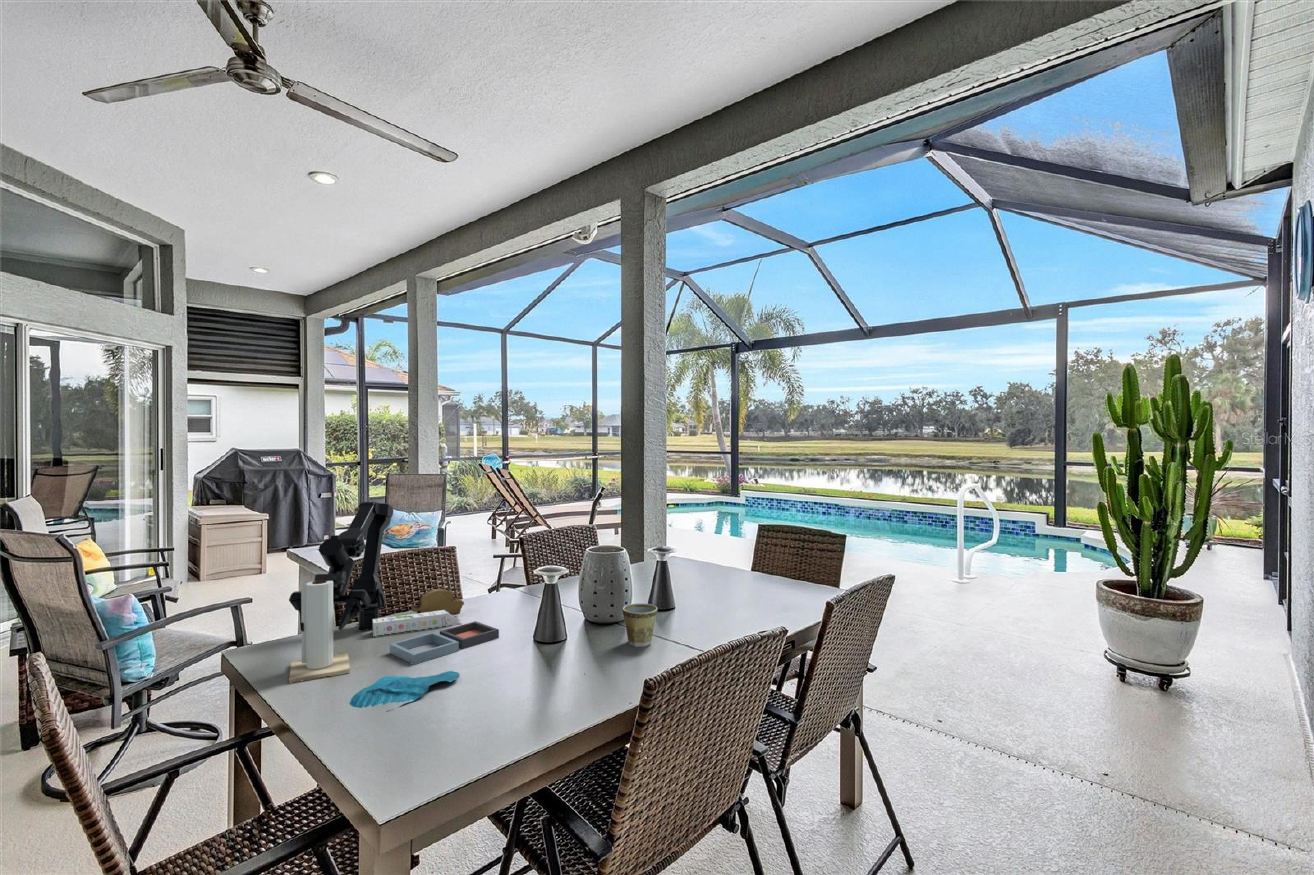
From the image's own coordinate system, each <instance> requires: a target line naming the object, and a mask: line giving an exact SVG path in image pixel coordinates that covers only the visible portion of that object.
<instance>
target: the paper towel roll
mask: <svg viewBox="0 0 1314 875" xmlns="http://www.w3.org/2000/svg"><path fill="white" fill-rule="evenodd" d="M300 585H301V587H300V588H301V589H300V591H301V623H303V622H304V631H301V630H300V631H301V660H302V664H304V663H306V666H307V668H308V669H320V668H325V667H328V666H330V665H332V664H333V655H334V603H333V581H326V580H319V581H314V580H309V581H301V584H300Z"/></svg>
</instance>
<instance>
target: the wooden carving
mask: <svg viewBox="0 0 1314 875" xmlns="http://www.w3.org/2000/svg"><path fill="white" fill-rule="evenodd" d="M418 600H419V603H418V604H417V605H416V604H415V605H411V606H410V609H411V611H412V612H414V613H415V612H416V613H415V614H417V613H425V612H433V611H440V610H445V611H447V612H448V613H450V614H451V615H453V616H457V615H460V613H461V611H462V608H463V606H464V605H465V601H463V599H460V598H457V597H455V594H454V592H453V590H452V589H451V588H449V589H443V588H436V589H432V590H428V591H426V592H424V593H421V594H420V595H419V597H418Z"/></svg>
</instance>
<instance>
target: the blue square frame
mask: <svg viewBox="0 0 1314 875" xmlns="http://www.w3.org/2000/svg"><path fill="white" fill-rule="evenodd" d="M431 642H432V643H433V644H435V645H438V646H435V647H432V648H428V649H425V650H421V651H418V652H414V651H412V650H410V649H413V648H417V647H421V646H424V645H428V644H430V643H431ZM423 644H424V645H423ZM420 645H421V646H420ZM408 648H410V649H408ZM459 649H460V648H459V642H458V641H455V640H453V639H450V638H448V637H445V636H443V635H440V633H439V632H435V631H432V632H430V633H426V634H425V633H424V634H421V635H418V636H414V637H410V638H406V639H404V640H399V641H396V642H392V643H389V654H391V653H392V655H393V656H395V657H397V658H399V657H400V658H399V659H401V658H402V659H401V660H403V661H405V662H407V663H409V662H410V663H409V664H411V663H412V665H418V664H421V663H424V662H427V661H431V660H434V659H438V658H441V657H443V656H446V655H447V656H448V655H450V654H453V653H456V652H459Z"/></svg>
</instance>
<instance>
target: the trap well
mask: <svg viewBox="0 0 1314 875" xmlns="http://www.w3.org/2000/svg"><path fill="white" fill-rule="evenodd" d="M439 634H440V635H443V636H445V637H448V638H450V639H453V640H455V641H458V642H459V649H462V650H464V649H467V648H470V647H474V646H477V645H480V644H484V643H486V642H490V641H494V640H496V639H499V638H500V629H499V628H496V627H492V626H490V625H488V624H485V623H482V622H478V621H477V620H475V621H472V622H468V623H463V624H460V625H455V626H454V627H453V626H452V627H450V628H446V629H442V630H439ZM493 639H494V640H493Z"/></svg>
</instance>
